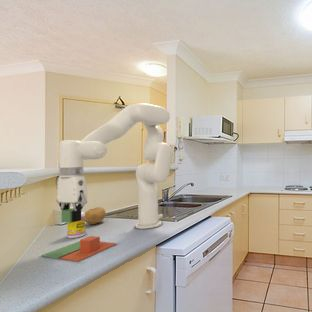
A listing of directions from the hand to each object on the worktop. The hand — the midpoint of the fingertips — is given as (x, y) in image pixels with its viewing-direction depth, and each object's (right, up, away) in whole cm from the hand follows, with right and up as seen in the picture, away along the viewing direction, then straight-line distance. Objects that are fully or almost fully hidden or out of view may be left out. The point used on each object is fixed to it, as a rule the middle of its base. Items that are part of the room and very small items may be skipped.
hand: (71, 220), depth 88 cm
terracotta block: (+9, -10, -3) cm, 14 cm away
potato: (-13, -12, +35) cm, 39 cm away
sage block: (0, 0, 0) cm, 0 cm away
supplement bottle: (-9, -11, +15) cm, 21 cm away
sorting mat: (+5, -11, -1) cm, 12 cm away
